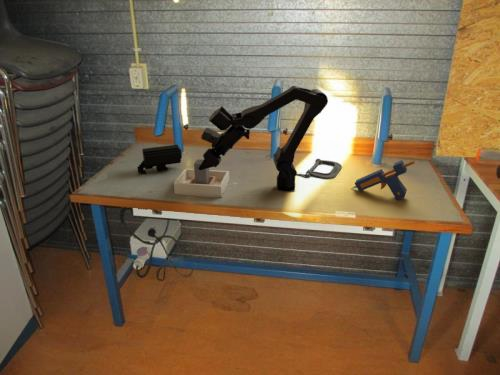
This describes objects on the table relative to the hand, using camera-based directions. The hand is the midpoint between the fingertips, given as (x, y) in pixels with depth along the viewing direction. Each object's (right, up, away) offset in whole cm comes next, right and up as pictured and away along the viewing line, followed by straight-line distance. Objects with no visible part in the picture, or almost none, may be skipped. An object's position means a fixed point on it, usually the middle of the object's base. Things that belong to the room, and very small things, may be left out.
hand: (202, 164), depth 150 cm
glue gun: (+66, -12, -1) cm, 67 cm away
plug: (0, -8, +4) cm, 9 cm away
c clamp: (+47, -2, +19) cm, 51 cm away
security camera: (-20, -2, +20) cm, 28 cm away
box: (0, -9, +4) cm, 10 cm away
